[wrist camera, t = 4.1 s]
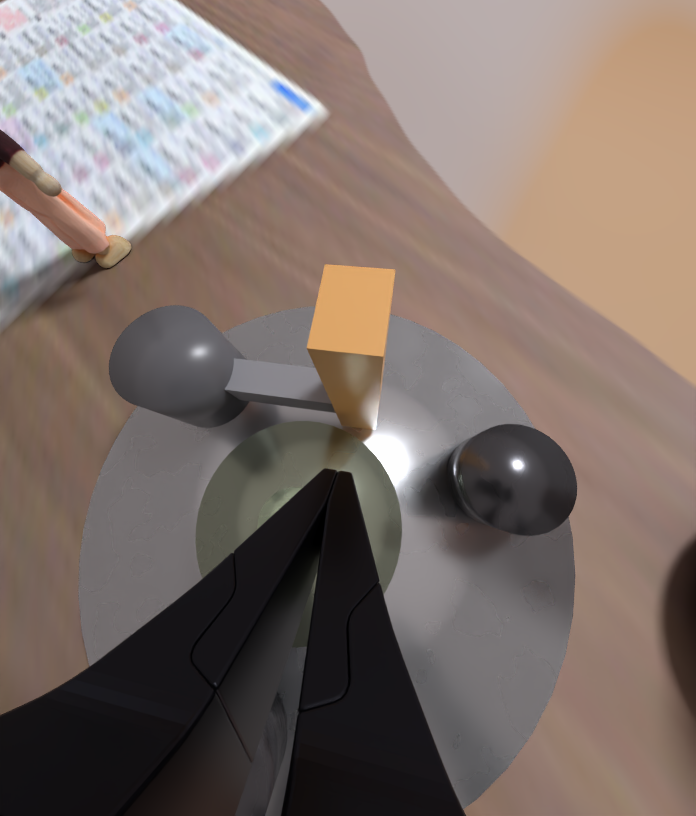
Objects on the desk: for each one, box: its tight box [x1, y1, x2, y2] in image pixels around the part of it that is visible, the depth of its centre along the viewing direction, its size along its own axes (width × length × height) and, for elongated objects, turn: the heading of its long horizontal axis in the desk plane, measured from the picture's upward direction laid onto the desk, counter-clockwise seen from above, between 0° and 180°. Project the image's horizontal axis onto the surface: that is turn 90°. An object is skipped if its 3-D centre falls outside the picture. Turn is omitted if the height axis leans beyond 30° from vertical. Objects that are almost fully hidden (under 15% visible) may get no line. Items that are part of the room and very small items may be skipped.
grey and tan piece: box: [109, 264, 395, 430], centre depth 11 cm, size 12×5×8 cm, turn 81°
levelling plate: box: [79, 306, 577, 816], centre depth 12 cm, size 24×24×5 cm
